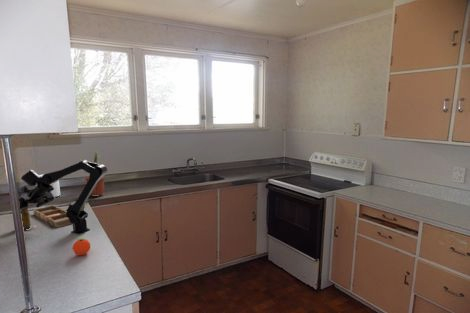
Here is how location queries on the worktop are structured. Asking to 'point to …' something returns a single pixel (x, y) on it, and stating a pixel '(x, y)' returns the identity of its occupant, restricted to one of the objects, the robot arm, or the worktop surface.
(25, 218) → the condiment
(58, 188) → the utensil holder
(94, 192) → the potted plant
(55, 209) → the tray
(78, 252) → the clementine
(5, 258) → the worktop surface
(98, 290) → the worktop surface
